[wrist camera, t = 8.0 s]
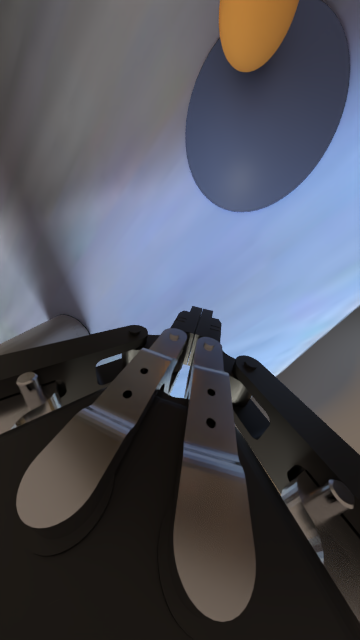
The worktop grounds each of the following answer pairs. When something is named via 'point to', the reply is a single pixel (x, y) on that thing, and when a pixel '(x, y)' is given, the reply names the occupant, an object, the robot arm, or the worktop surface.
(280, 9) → the ball
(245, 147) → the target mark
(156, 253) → the worktop surface
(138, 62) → the worktop surface
